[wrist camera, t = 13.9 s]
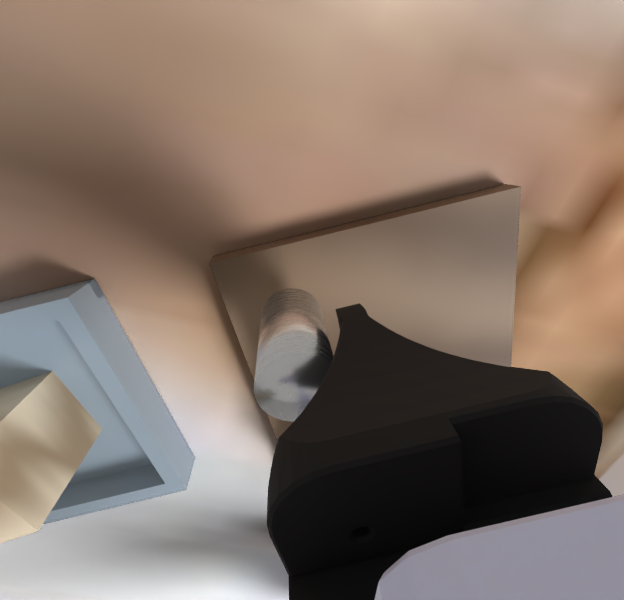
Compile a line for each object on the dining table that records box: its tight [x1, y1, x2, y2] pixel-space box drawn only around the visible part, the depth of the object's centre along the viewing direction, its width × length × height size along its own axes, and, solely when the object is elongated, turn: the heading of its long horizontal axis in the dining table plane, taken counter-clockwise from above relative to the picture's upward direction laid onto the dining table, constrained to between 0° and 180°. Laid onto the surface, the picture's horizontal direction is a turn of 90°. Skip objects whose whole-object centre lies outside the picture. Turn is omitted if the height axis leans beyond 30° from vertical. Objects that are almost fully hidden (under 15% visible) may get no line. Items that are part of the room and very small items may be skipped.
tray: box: [0, 279, 195, 524], centre depth 16 cm, size 12×12×2 cm
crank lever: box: [254, 288, 333, 422], centre depth 13 cm, size 12×3×5 cm, turn 14°
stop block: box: [0, 371, 102, 543], centre depth 14 cm, size 4×4×5 cm
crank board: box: [209, 184, 521, 441], centre depth 16 cm, size 15×13×2 cm
